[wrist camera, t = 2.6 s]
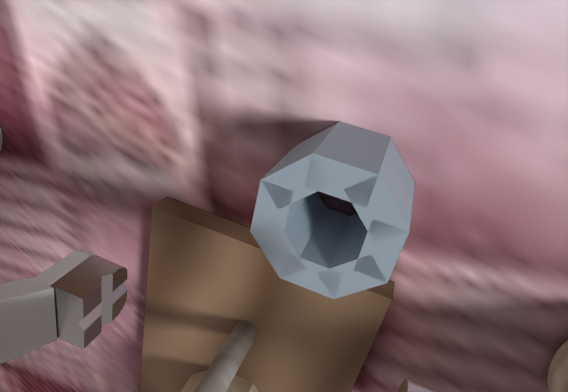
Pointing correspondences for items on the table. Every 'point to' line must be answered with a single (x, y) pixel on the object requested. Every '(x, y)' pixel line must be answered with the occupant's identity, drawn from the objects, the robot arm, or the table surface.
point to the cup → (0, 139)
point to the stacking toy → (559, 370)
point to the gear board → (243, 315)
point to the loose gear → (331, 224)
